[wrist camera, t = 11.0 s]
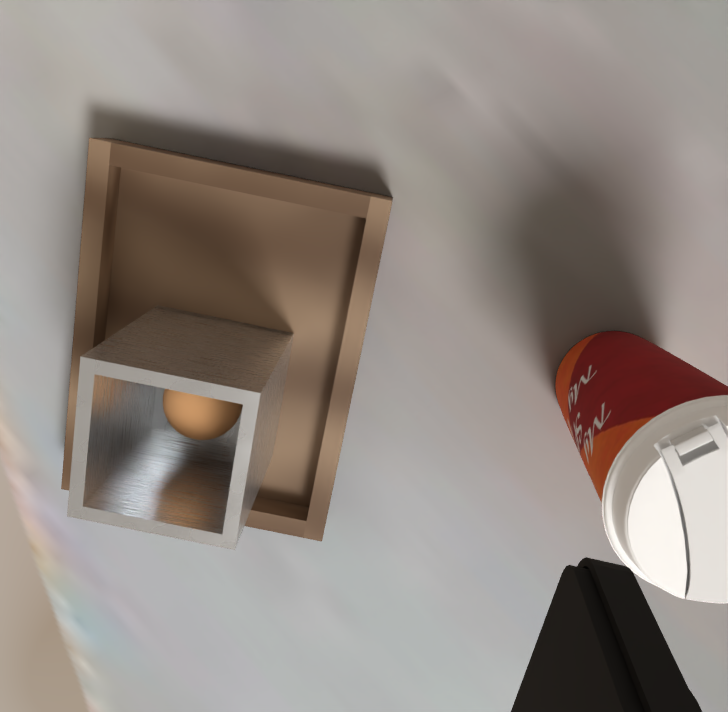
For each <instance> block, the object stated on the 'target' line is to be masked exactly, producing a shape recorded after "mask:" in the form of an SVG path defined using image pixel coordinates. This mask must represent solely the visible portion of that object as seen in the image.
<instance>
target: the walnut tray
mask: <svg viewBox="0 0 728 712" xmlns="http://www.w3.org/2000/svg"><path fill="white" fill-rule="evenodd" d="M392 200H393V197H389V196H385V195H380V194H375V193H370V192H365V191H361V190H356V189H351V188H346V187H341V186H337V185H332V184H327V183H322V182H317V181H313V180H308V179H303V178H298V177H293V176H289V175H284V174H279V173H274V172H269V171H265V170H260V169H255V168H250V167H245V166H241V165H236V164H231V163H226V162H221V161H216V160H212V159H207V158H202V157H197V156H192V155H188V154H183V153H178V152H173V151H168V150H164V149H159V148H154V147H149V146H144V145H140V144H135V143H130V142H125V141H120V140H116V139H109V138H89V147H88V160H87V172H86V185H85V198H84V210H83V223H82V235H81V248H80V260H79V273H78V285H77V298H76V311H75V323H74V336H73V348H72V361H71V373H70V386H69V399H68V411H67V424H66V436H65V449H64V461H63V474H62V487H61V489H64V490H69V488H70V476H71V464H72V452H73V440H74V428H75V416H76V404H77V392H78V380H79V368H80V356H82V355H83V354H85V353H86V352H88V351H90V350H91V349H93V348H94V347H96V346H97V345H99V344H100V343H102V342H103V341H105V340H106V339H108V338H109V337H111V336H112V335H114V334H115V333H117V332H118V331H120V330H121V329H123V328H124V327H126V326H127V325H129V324H130V323H132V322H133V321H135V320H136V319H138V318H139V317H141V316H142V315H144V314H145V313H147V312H148V311H150V310H152V309H153V308H155V307H156V306H158V305H159V306H164V307H169V308H174V309H179V310H184V311H189V312H193V313H198V314H203V315H208V316H213V317H218V318H223V319H228V320H232V321H237V322H242V323H247V324H252V325H257V326H262V327H267V328H271V329H276V330H281V331H286V332H291V333H294V336H293V342H292V348H291V353H290V359H289V365H288V370H287V376H286V382H285V387H284V393H283V399H282V404H281V410H280V416H279V421H278V427H277V433H276V438H275V444H274V450H273V456H272V459H271V461H270V464H269V466H268V469H267V471H266V474H265V476H264V479H263V481H262V484H261V486H260V488H259V491H258V493H257V496H256V498H255V501H254V503H253V506H252V508H251V511H250V513H249V516H248V518H247V521H246V523H245V526H248V527H253V528H258V529H263V530H268V531H273V532H278V533H283V534H288V535H293V536H298V537H303V538H308V539H313V540H318V541H322V538H323V533H324V528H325V524H326V519H327V514H328V509H329V504H330V499H331V495H332V490H333V485H334V480H335V475H336V470H337V466H338V461H339V456H340V451H341V446H342V442H343V437H344V432H345V427H346V422H347V417H348V413H349V408H350V403H351V398H352V393H353V389H354V384H355V379H356V374H357V369H358V364H359V360H360V355H361V350H362V345H363V340H364V335H365V331H366V326H367V321H368V316H369V311H370V307H371V302H372V297H373V292H374V287H375V282H376V278H377V273H378V268H379V263H380V258H381V254H382V249H383V244H384V239H385V234H386V229H387V225H388V220H389V215H390V210H391V205H392Z"/></svg>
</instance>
